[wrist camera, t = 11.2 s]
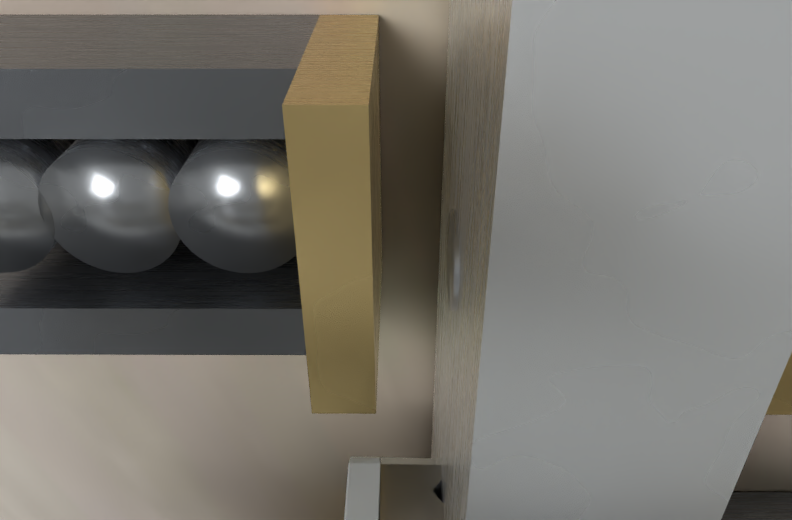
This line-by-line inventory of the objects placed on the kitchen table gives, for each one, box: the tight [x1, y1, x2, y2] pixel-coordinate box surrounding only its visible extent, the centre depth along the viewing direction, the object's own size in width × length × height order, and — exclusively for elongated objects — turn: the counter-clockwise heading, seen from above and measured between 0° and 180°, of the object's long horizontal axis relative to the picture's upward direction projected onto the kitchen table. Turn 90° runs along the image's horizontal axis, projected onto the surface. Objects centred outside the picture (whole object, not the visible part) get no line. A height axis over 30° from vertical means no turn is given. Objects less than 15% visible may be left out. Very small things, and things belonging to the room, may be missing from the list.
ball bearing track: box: [0, 15, 792, 520], centre depth 11 cm, size 18×14×4 cm
